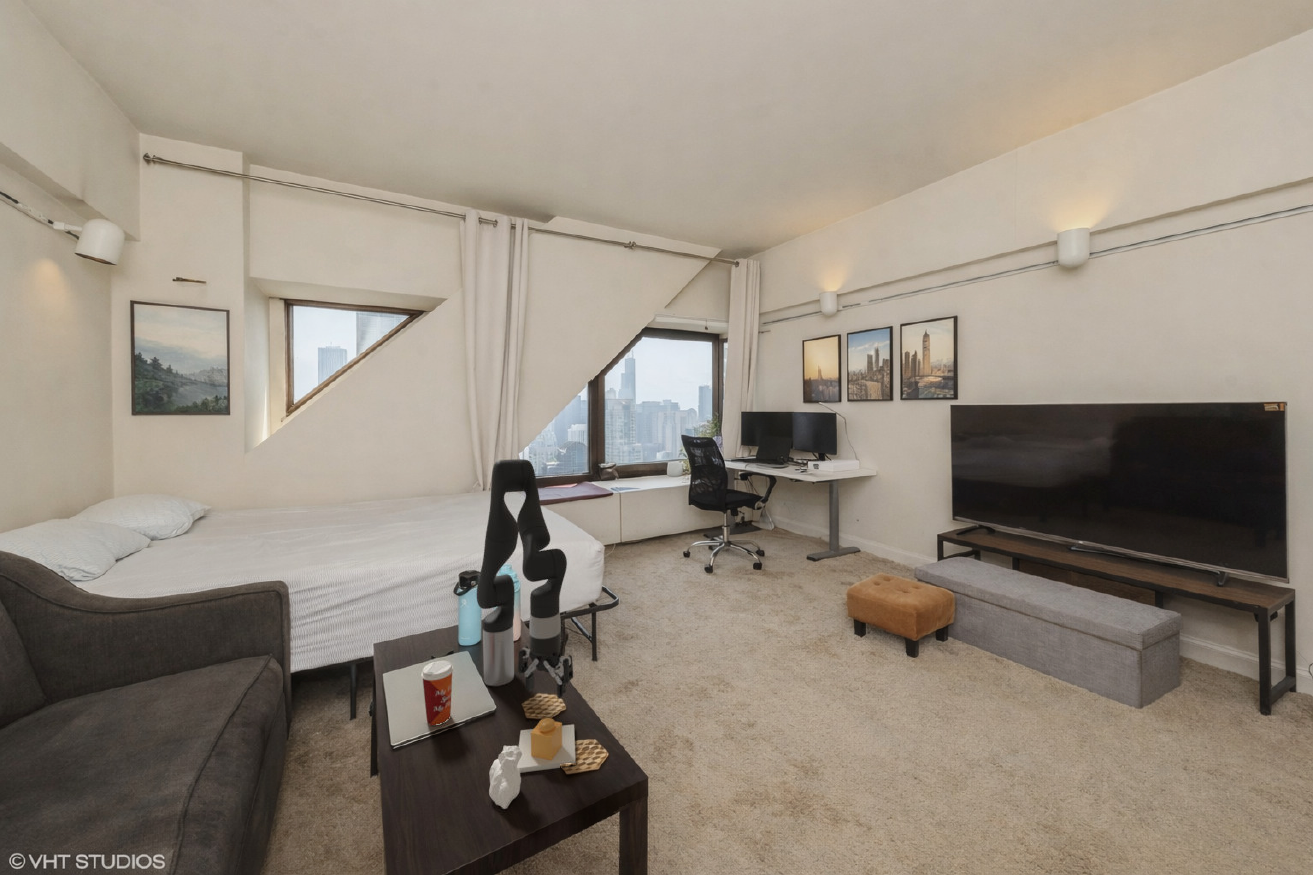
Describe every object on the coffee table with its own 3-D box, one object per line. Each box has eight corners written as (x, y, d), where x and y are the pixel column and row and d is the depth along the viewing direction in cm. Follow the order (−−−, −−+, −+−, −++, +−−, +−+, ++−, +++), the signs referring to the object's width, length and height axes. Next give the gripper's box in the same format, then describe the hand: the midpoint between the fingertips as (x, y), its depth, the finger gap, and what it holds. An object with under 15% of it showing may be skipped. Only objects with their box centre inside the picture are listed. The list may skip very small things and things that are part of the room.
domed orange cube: (542, 741, 128) (542, 714, 128) (562, 745, 127) (561, 718, 126) (531, 755, 123) (530, 727, 122) (551, 760, 121) (551, 732, 121)
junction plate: (521, 733, 133) (520, 712, 133) (574, 726, 136) (573, 707, 135) (516, 773, 119) (515, 750, 118) (575, 765, 121) (575, 743, 121)
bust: (515, 820, 108) (545, 768, 111) (487, 813, 104) (518, 759, 108) (498, 785, 118) (525, 738, 121) (471, 778, 114) (500, 729, 117)
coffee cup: (442, 730, 134) (441, 676, 133) (415, 726, 136) (414, 673, 135) (461, 711, 142) (459, 660, 141) (435, 707, 144) (433, 657, 143)
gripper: (578, 628, 124) (578, 690, 125) (529, 619, 128) (529, 679, 130) (562, 642, 117) (563, 707, 118) (511, 631, 121) (512, 695, 123)
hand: (545, 692), depth 124 cm, fingers open, 8 cm apart
